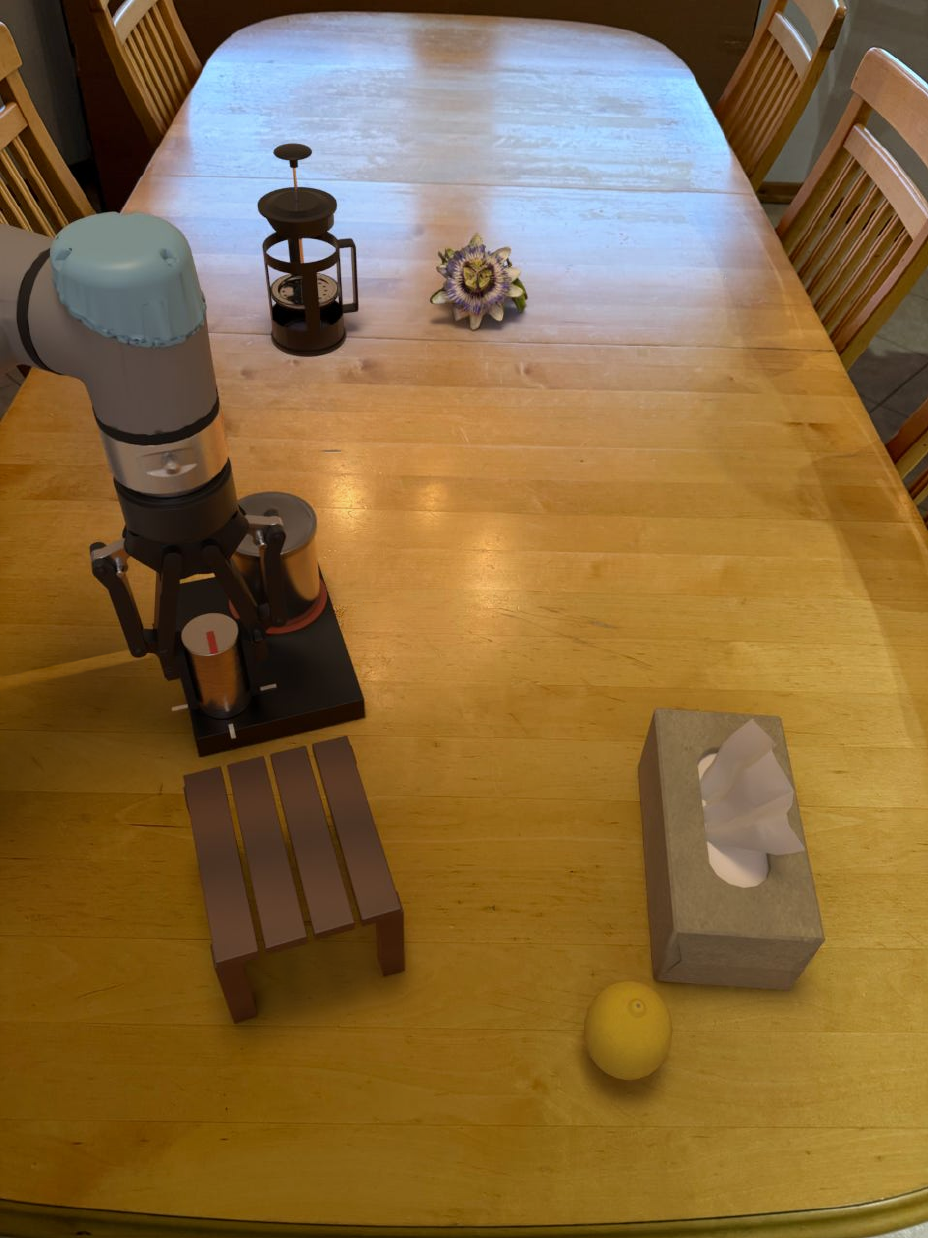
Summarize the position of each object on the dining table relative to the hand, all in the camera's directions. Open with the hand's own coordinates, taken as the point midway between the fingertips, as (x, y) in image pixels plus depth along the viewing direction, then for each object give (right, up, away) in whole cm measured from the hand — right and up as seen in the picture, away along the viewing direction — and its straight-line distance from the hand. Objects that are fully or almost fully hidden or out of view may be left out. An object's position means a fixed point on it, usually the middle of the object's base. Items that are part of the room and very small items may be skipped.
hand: (222, 689), depth 81 cm
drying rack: (+8, -15, -9) cm, 19 cm away
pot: (+3, +8, +9) cm, 12 cm away
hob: (+2, +2, +7) cm, 8 cm away
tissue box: (+38, -13, -5) cm, 41 cm away
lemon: (+30, -23, -15) cm, 41 cm away
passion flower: (+22, +46, +49) cm, 71 cm away
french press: (+1, +41, +43) cm, 60 cm away
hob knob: (0, -1, +1) cm, 1 cm away
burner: (+3, +8, +9) cm, 12 cm away
